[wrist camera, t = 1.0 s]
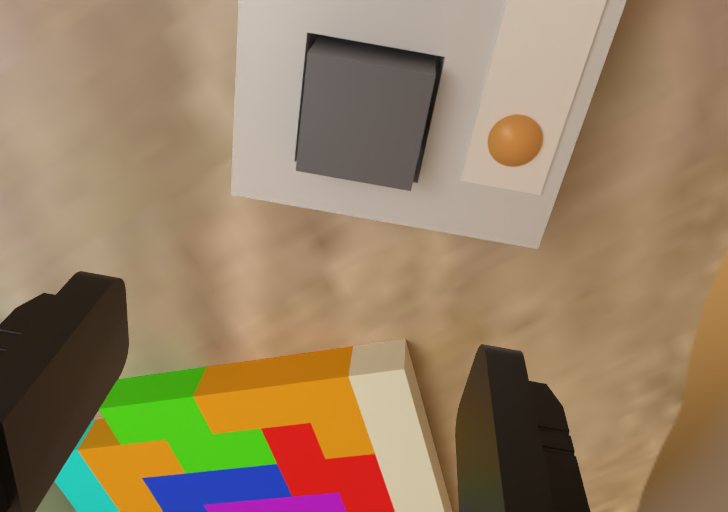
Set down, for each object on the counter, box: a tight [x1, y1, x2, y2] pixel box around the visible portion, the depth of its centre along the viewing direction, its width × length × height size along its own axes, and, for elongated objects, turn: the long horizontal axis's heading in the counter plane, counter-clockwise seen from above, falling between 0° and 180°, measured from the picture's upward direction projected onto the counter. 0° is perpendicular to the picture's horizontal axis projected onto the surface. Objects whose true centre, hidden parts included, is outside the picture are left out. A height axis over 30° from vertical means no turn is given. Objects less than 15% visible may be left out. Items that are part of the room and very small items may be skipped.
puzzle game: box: [35, 339, 453, 512], centre depth 39 cm, size 30×3×30 cm
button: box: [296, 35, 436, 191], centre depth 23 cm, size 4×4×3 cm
